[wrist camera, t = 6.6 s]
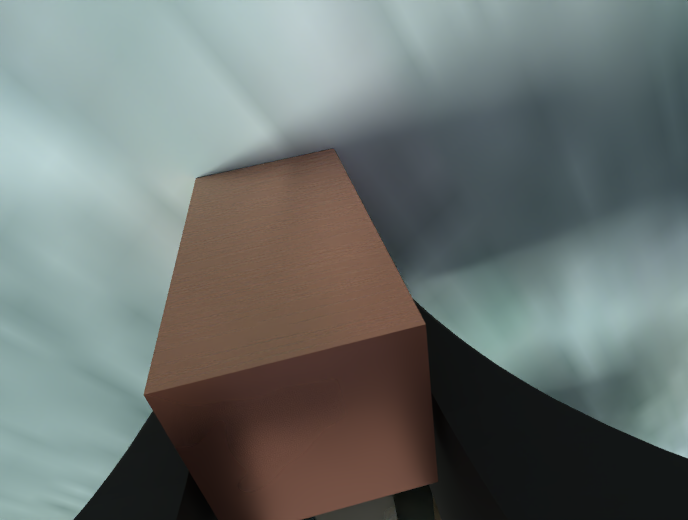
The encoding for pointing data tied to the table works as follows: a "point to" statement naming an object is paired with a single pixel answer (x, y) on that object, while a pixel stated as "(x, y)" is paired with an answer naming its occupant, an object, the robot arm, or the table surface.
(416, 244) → the table surface
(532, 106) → the table surface
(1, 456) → the table surface
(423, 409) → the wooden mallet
